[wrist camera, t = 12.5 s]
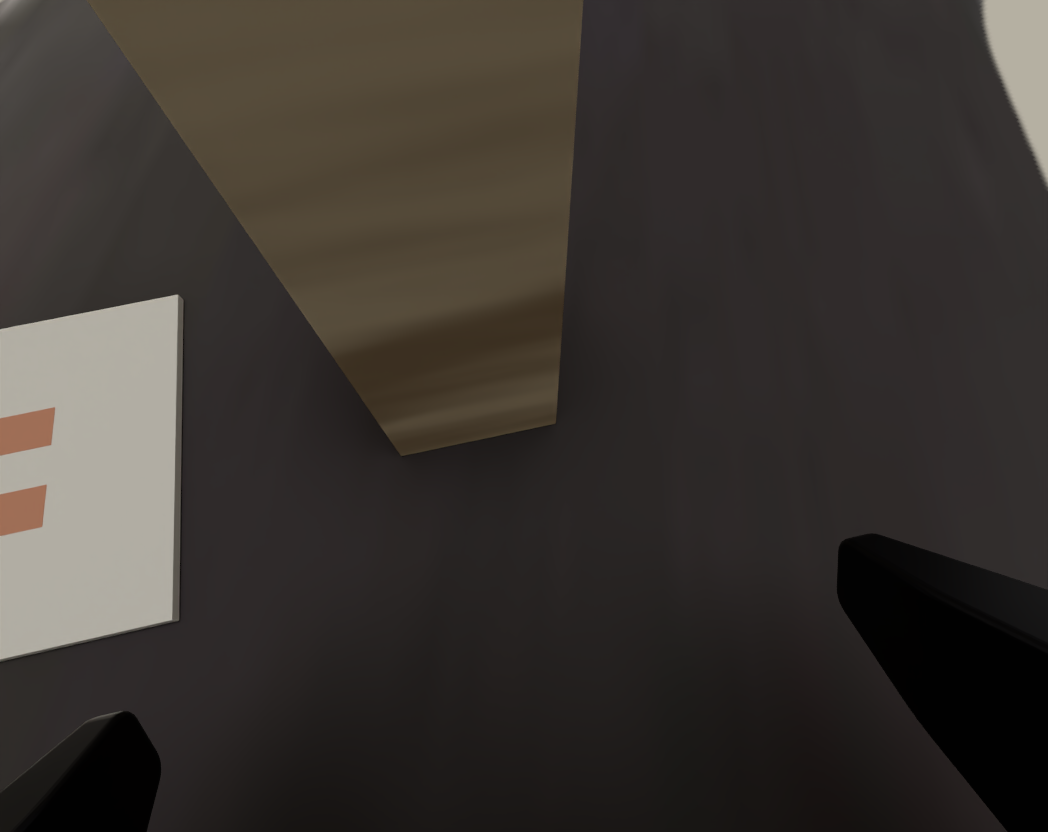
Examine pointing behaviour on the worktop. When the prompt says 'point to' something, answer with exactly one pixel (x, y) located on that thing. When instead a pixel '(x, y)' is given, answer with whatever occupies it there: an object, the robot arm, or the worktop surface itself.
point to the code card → (90, 475)
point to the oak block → (391, 183)
